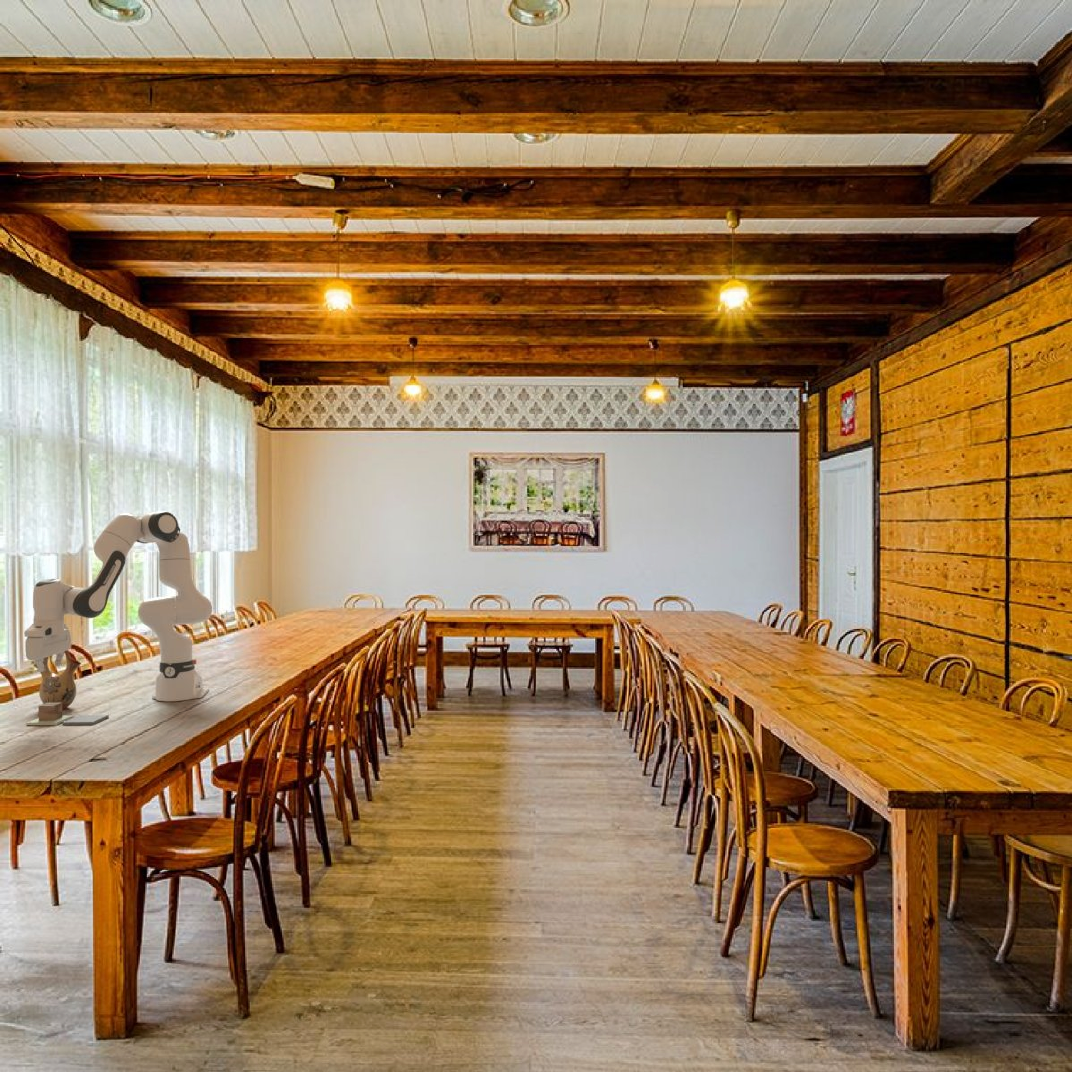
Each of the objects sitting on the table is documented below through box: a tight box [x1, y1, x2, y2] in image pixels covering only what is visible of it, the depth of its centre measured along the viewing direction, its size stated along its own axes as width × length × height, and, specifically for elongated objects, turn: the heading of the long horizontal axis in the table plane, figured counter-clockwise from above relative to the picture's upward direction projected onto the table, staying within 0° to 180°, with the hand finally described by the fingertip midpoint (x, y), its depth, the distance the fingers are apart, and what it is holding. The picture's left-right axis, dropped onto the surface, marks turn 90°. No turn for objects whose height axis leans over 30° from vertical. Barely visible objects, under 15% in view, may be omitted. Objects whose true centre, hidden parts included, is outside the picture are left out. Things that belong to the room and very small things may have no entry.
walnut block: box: [38, 703, 63, 721], centre depth 271 cm, size 5×5×5 cm
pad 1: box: [25, 714, 75, 726], centre depth 271 cm, size 10×10×1 cm
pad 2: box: [62, 714, 110, 726], centre depth 271 cm, size 10×10×1 cm
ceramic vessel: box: [33, 650, 82, 710], centre depth 291 cm, size 16×9×25 cm, turn 94°
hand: (50, 668), depth 271 cm, fingers open, 8 cm apart
